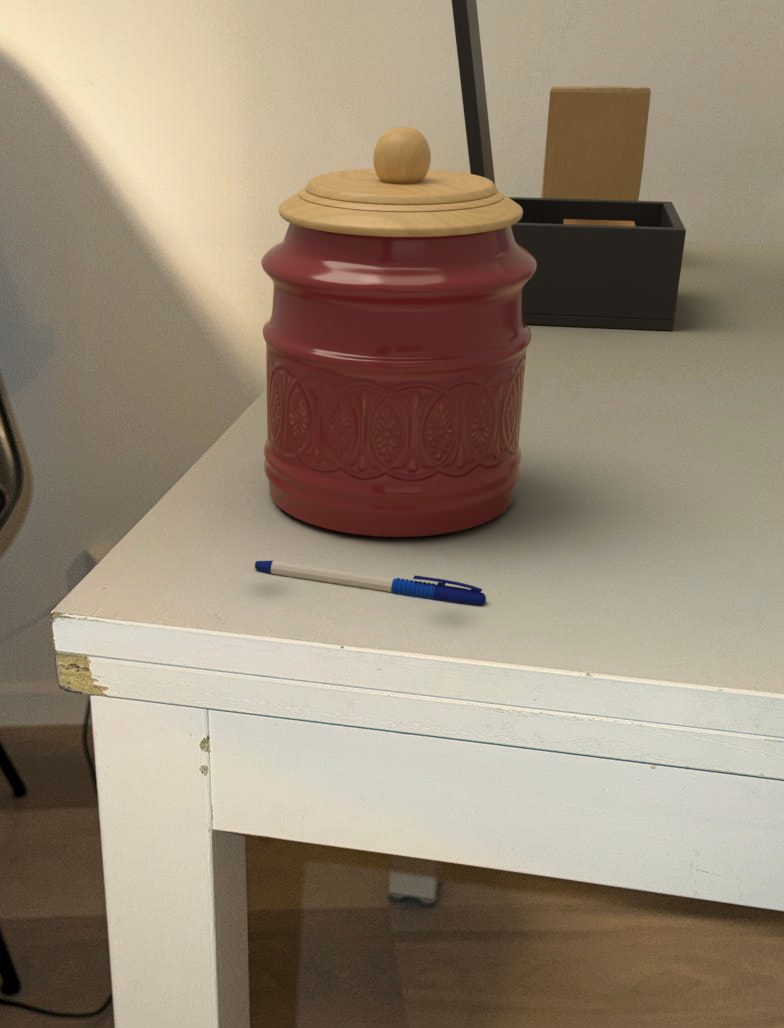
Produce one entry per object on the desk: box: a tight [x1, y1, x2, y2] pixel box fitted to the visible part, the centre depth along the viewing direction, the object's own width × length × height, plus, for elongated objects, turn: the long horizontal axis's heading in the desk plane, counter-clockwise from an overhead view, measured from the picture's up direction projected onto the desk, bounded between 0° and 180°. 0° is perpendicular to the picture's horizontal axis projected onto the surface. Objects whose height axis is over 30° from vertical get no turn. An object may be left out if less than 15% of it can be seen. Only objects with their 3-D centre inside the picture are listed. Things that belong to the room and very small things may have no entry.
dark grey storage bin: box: [507, 196, 687, 332], centre depth 102 cm, size 15×13×7 cm
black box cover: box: [451, 0, 496, 186], centre depth 98 cm, size 15×13×1 cm
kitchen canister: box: [260, 126, 537, 538], centre depth 63 cm, size 13×13×18 cm
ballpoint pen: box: [254, 560, 487, 607], centre depth 57 cm, size 10×1×1 cm, turn 72°
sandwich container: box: [540, 85, 652, 201], centre depth 121 cm, size 9×15×15 cm, turn 170°
